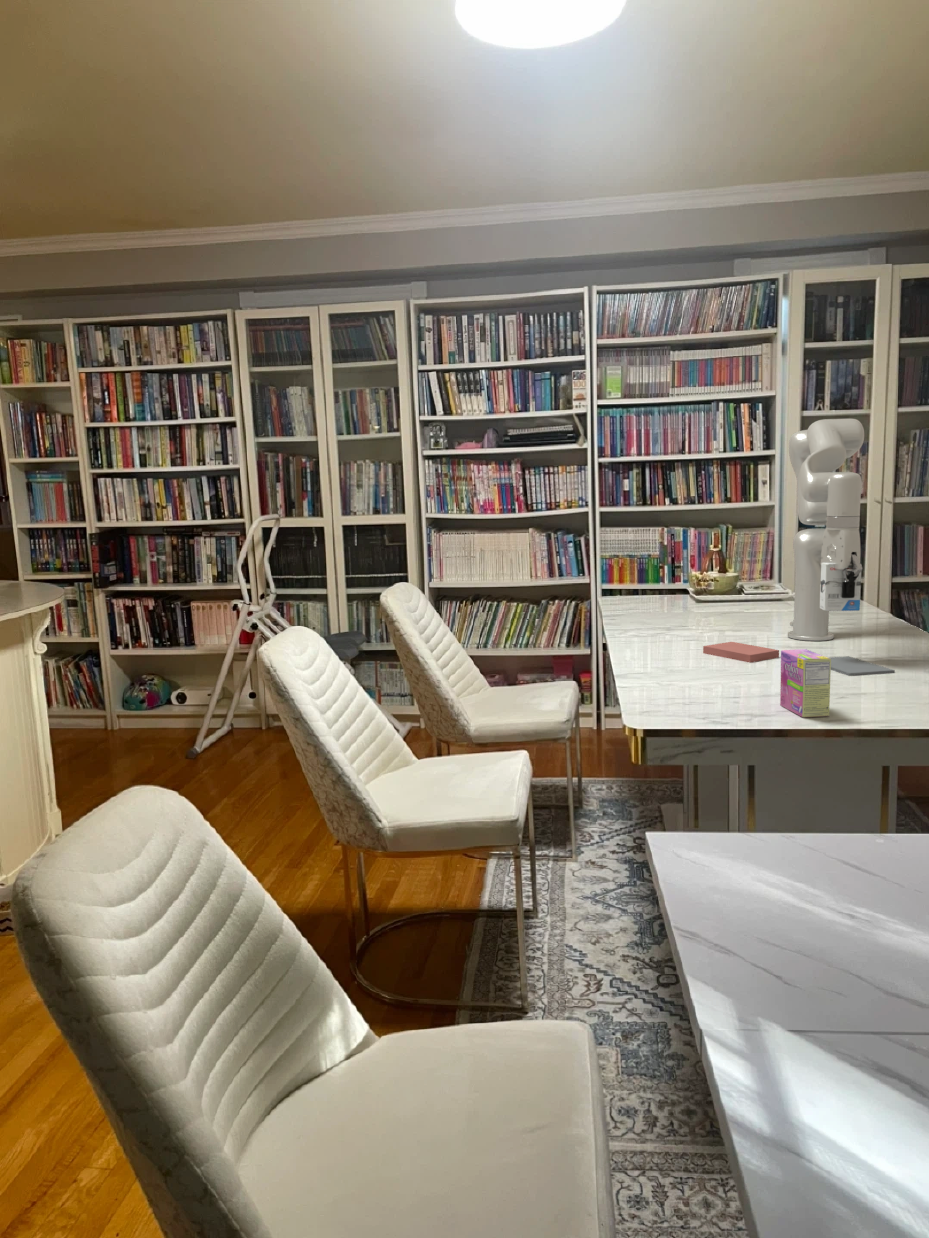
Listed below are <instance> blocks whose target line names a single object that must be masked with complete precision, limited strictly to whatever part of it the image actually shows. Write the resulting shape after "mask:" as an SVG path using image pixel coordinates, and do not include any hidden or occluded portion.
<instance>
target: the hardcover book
mask: <svg viewBox="0 0 929 1238" xmlns="http://www.w3.org/2000/svg"><path fill="white" fill-rule="evenodd" d="M702 654H705V655H708V656H709V655H710V656H715V657H721V658H724V659H731V660H735V661H740V662H745V663H756V662H762V661H768V660H772V659H779V658H780V649H774V648H770V647H764V646H757V645H754V644H753V645H752V644H746V643H740V642H736V641H727V642H721V643H714V644H708V645H704V646H702Z"/></svg>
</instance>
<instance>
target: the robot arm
mask: <svg viewBox="0 0 929 1238" xmlns="http://www.w3.org/2000/svg"><path fill="white" fill-rule="evenodd" d="M864 440H865V429H864V426H863V424H862V423H861V421H860V420H859V419H856V418H827V419H819V420H816V421H814V422H812V423H811V424H810V425H809V426H808V428H807V429H803V430H800V431H799V430H798V431H796V432H794V433H793V434H792V435H791V436H790V437H789V441H788V455H789V460H790V464H791V467H792V469H793V472H794V474H795V477H796V497H797V499H796V501H797V504H796V505H797V517H798V520H799V522H800V523H802V524H803V525H806V526H825V528H807V529H806V528H805V529H802V530H799V531H798V532H797V533H796V534H795V535H794V537H793V542H792V549H793V555H794V556H793V557H794V567H795V568H794V571H795V575H794V576H795V577H794V578H795V579H794V609H793V619H792V621H790V623H789V626H790V627H792V630H790V631H788V632H787V637H788V638H790V639H794V640H800V641H815V642H817V641H819V642H820V641H821V642H822V641H831V640H833V639H834V637H835V634H834V633H832V632H830V631H829V623H830V621H829V617H830V611H825V610H822V609H821V608H820V585H821V563H831V564H835V569H836V570H842V573H843V578H844V582H842V598H854V595H855V582H856V581H857V577H858V576H859V573H860V572H861V573H862V571H863V566H861V564H862V563H861V536H860V522H861V521H860V516H861V500H862V499H861V497H862V495H861V494H862V489H863V481H862V477H861V475H860V473H856V472H853V471H844V472H843V471H841V472H839V471H838V472H837V471H835V470H838V469H839V468H840V467H842V466H843V465H844V463H845V462H846V459H849V458H851V457H852V456H854V455H855V454H856V453H857V452H858V451H859V450H860V449H861V448H862V446H863V444H864ZM848 567H851V569H846V568H848ZM847 572H850V574H849V575H848V573H847Z"/></svg>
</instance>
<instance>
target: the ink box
mask: <svg viewBox="0 0 929 1238" xmlns="http://www.w3.org/2000/svg"><path fill="white" fill-rule="evenodd" d="M860 564H861V566H862V565H863V564H862V563H860ZM862 567H863V566H862ZM846 569H851V567H848V568H846ZM847 573H848V575H849V574H850V572H847ZM842 582H844V578H843V573H842V570H836V569H835V564H831V563H821V585H820V608H821V609H822V610H825V611H829V612H844V611H845V612H847V611H848V612H850V611H852V612H853V611H854V612H855V611H856V612H858V611H860V609H861V588H862V571H861V572H860V573H859V576H858V577H857V581H856V582H855V595H854V598H842Z"/></svg>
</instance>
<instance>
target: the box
mask: <svg viewBox="0 0 929 1238" xmlns="http://www.w3.org/2000/svg"><path fill="white" fill-rule="evenodd" d="M831 672H832V670H831V658H829V657H827V656H825V655H823V654H819V653H817V652H814V651H811V650H809V649H807V648H800V649H782V650H780V692H779V693H780V694H779V695H780V699H779V702H780V703H779V704H780V706H781V707H782V708H784V709H787V711H790V712H792V713H794V714H796V715H798V716H800V717H801V718H818V717H819V718H821V717H822V718H823V717H830V701H831V700H830V698H831Z"/></svg>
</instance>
